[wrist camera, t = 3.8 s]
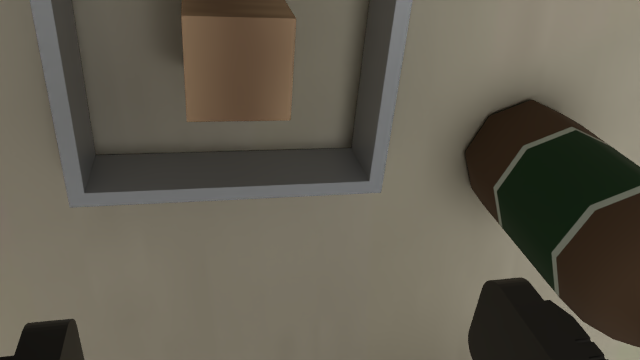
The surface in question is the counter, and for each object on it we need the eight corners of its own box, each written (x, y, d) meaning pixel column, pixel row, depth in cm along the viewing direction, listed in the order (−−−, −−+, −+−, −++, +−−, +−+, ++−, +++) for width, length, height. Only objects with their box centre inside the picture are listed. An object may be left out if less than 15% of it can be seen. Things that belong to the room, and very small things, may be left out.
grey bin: (403, -146, 26) (436, -144, 22) (362, 158, 34) (380, 192, 31) (22, -183, 22) (-7, -187, 19) (82, 167, 31) (69, 207, 27)
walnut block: (273, -19, 28) (296, 18, 22) (270, 66, 30) (290, 120, 24) (182, -23, 27) (181, 15, 21) (186, 65, 29) (186, 121, 23)
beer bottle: (449, 200, 38) (746, 603, 18) (474, 96, 34) (895, 466, 14) (548, 195, 39) (920, 558, 19) (583, 95, 35) (1099, 423, 15)
